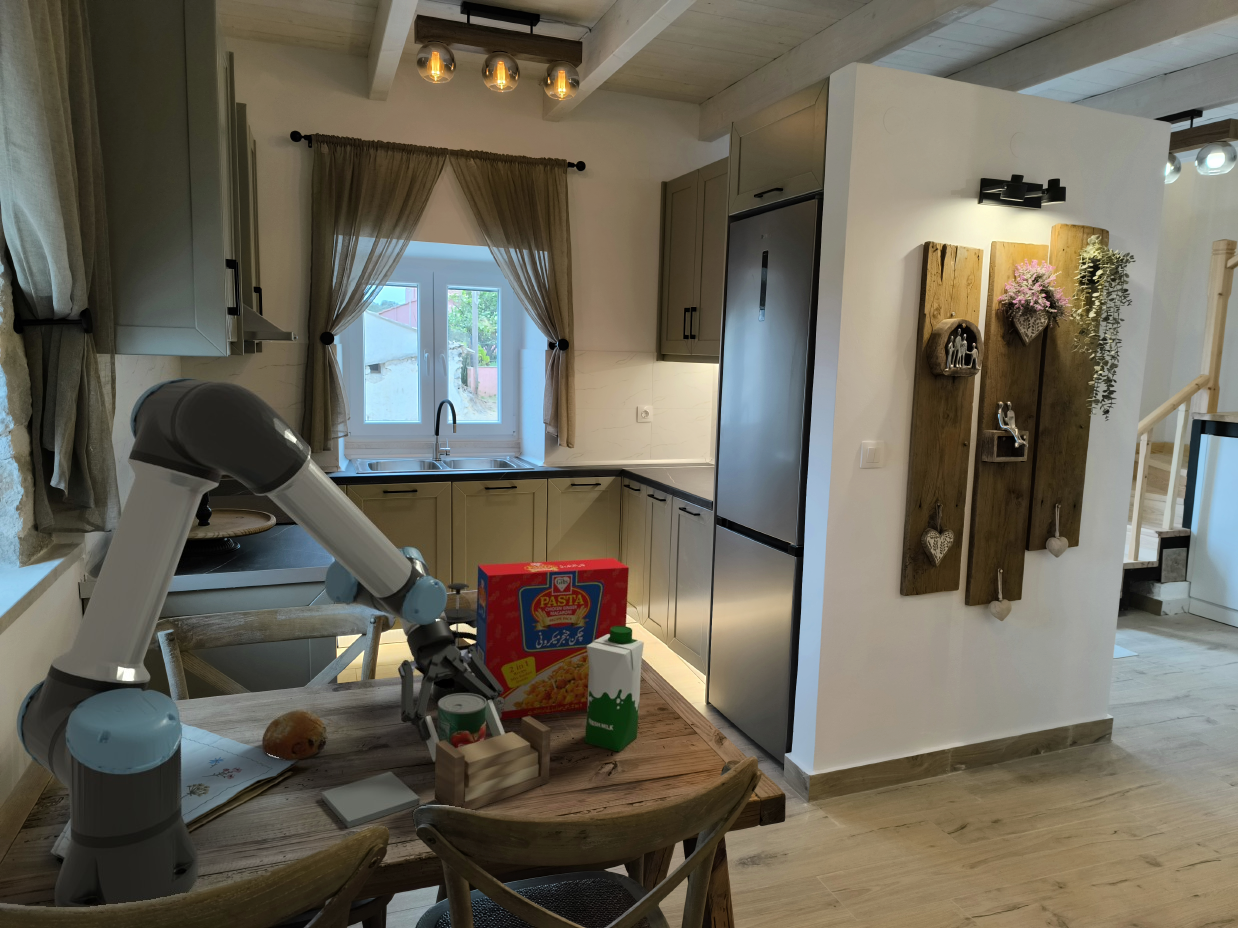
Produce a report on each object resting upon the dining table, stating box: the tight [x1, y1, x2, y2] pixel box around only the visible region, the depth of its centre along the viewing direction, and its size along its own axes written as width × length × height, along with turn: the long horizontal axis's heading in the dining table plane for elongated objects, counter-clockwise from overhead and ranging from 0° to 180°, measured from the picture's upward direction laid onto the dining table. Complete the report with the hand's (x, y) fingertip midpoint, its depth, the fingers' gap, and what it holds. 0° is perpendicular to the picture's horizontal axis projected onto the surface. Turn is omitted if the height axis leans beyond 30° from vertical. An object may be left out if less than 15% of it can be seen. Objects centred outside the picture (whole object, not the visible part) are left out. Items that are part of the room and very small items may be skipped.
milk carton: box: [584, 625, 645, 753], centre depth 147 cm, size 9×9×20 cm
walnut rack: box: [434, 716, 552, 810], centre depth 128 cm, size 17×6×9 cm, turn 130°
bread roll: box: [261, 709, 329, 761], centre depth 139 cm, size 10×10×8 cm
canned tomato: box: [437, 693, 487, 748], centre depth 135 cm, size 8×8×11 cm
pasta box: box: [474, 557, 630, 723], centre depth 160 cm, size 28×8×28 cm, turn 113°
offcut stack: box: [456, 731, 539, 802], centre depth 128 cm, size 13×5×6 cm, turn 130°
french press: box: [431, 582, 477, 705], centre depth 163 cm, size 12×9×23 cm
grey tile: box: [321, 771, 421, 829], centre depth 123 cm, size 11×10×1 cm
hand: (470, 748), depth 133 cm, fingers open, 11 cm apart
